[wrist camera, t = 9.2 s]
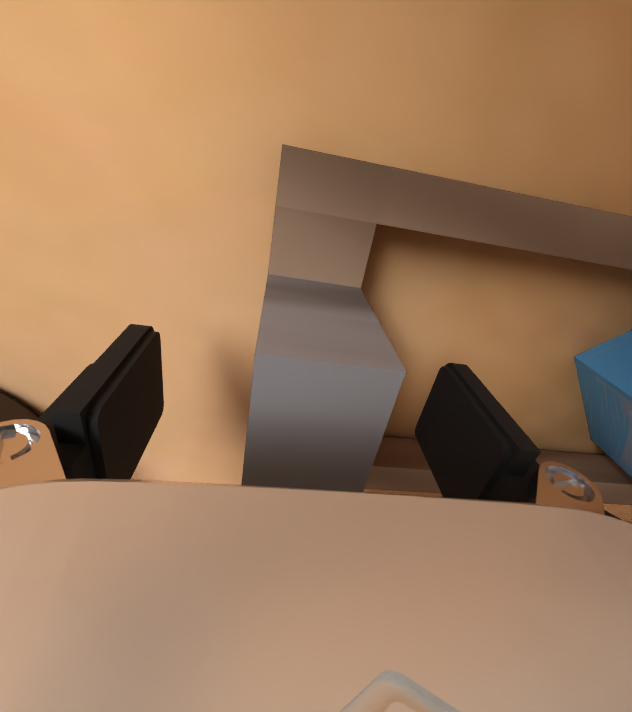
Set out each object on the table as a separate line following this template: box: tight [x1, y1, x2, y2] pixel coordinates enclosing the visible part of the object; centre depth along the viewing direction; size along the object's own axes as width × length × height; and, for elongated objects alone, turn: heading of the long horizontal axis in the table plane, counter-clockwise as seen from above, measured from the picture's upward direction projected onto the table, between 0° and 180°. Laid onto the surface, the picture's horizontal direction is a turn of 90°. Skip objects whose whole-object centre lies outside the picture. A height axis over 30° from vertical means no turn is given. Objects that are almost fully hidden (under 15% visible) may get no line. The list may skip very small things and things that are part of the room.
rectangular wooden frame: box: [242, 144, 632, 505], centre depth 13 cm, size 13×24×7 cm, turn 80°
